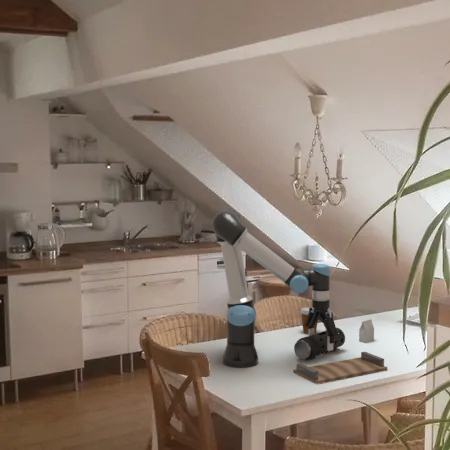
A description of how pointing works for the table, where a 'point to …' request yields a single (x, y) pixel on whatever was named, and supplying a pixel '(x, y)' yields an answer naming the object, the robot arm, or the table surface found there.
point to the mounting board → (341, 368)
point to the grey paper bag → (366, 332)
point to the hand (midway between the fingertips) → (320, 346)
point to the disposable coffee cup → (304, 314)
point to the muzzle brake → (317, 344)
